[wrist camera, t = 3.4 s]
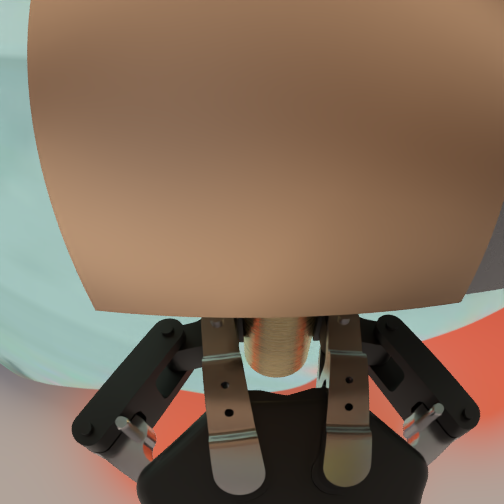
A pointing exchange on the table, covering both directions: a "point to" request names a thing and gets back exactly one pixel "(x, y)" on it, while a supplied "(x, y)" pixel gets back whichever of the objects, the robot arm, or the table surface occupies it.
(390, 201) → the wooden mallet head
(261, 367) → the cannon barrel
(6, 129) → the table surface
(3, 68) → the table surface
